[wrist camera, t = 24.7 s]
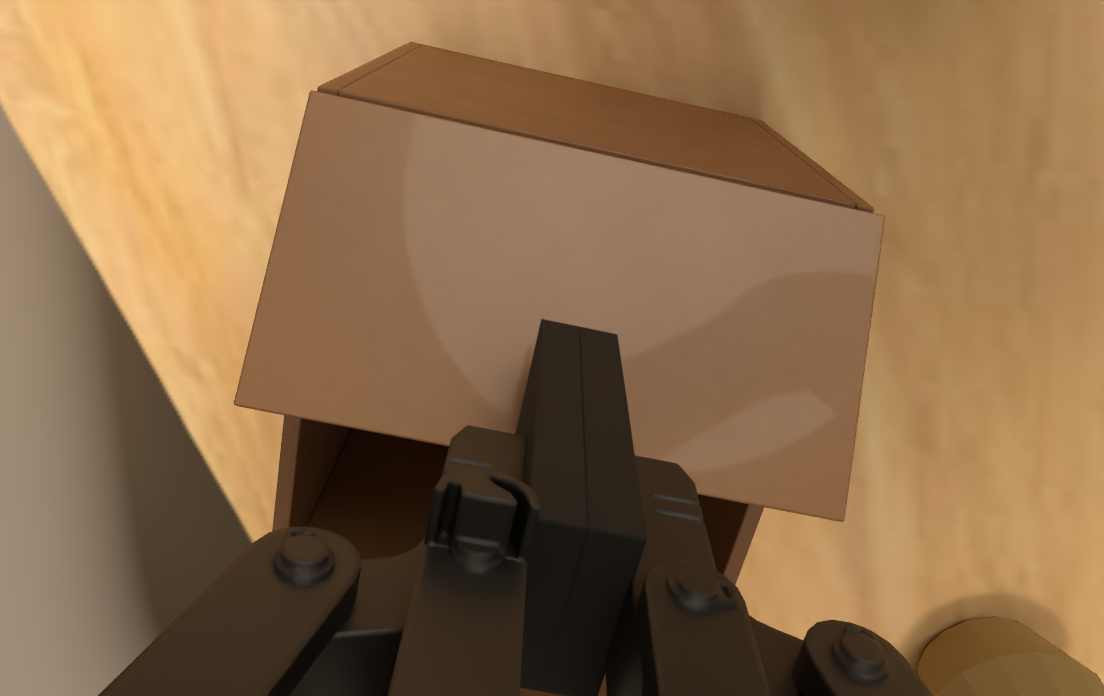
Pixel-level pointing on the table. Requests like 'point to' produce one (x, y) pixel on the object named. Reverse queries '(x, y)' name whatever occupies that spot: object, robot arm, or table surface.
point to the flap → (564, 298)
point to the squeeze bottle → (1002, 663)
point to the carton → (552, 116)
